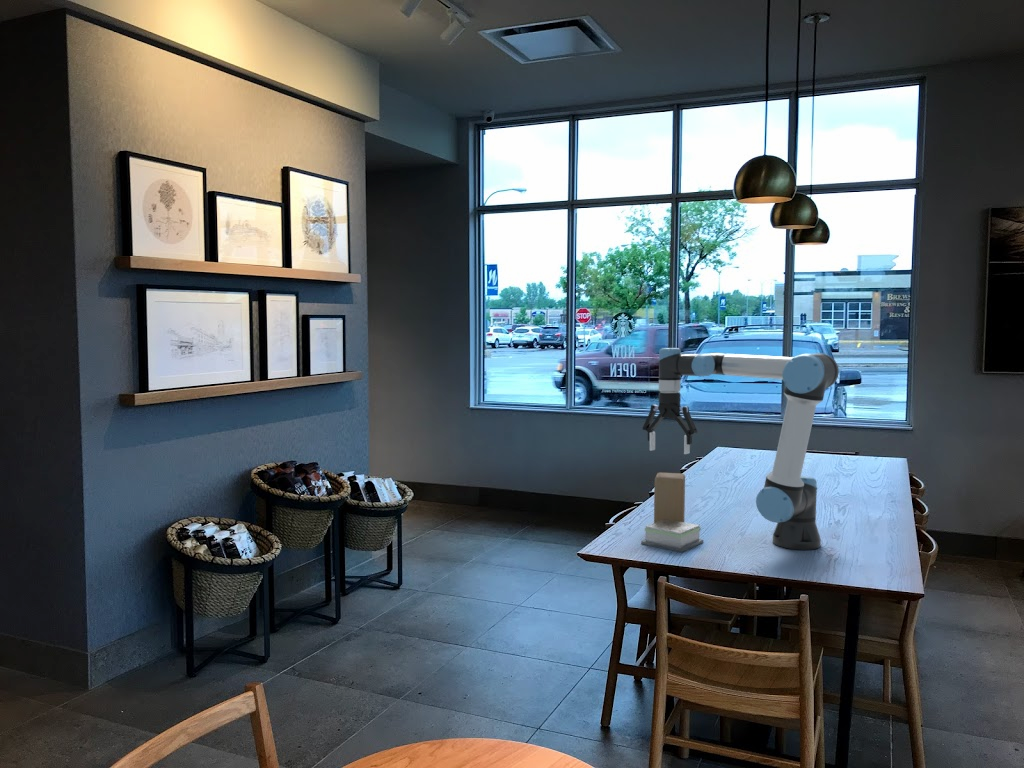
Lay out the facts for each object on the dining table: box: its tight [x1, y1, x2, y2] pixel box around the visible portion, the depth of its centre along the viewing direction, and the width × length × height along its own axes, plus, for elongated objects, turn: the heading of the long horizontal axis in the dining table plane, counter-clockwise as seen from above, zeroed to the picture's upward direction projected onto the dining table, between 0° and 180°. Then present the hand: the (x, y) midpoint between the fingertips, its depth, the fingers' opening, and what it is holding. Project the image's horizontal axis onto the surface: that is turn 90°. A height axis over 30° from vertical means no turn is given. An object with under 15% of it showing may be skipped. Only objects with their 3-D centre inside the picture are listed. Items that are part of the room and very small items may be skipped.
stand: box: [640, 519, 704, 553], centre depth 268 cm, size 15×15×6 cm
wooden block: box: [653, 472, 686, 523], centre depth 284 cm, size 10×10×20 cm
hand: (669, 452), depth 282 cm, fingers open, 13 cm apart
